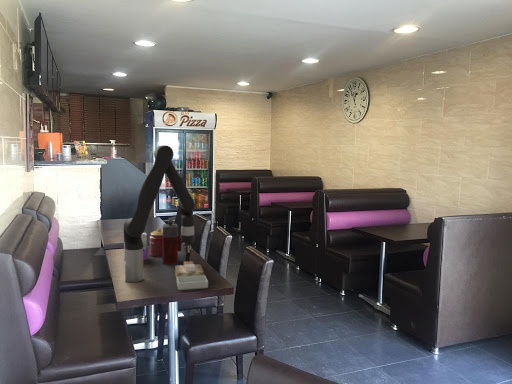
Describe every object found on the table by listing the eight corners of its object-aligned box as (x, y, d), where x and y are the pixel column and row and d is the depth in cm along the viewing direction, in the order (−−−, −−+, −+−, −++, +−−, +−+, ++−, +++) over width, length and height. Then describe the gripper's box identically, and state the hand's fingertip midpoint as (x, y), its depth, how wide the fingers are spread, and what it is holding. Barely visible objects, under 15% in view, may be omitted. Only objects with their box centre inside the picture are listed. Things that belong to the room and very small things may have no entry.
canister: (149, 257, 261) (149, 230, 259) (149, 252, 273) (149, 226, 271) (169, 256, 264) (169, 229, 262) (168, 251, 277) (168, 226, 275)
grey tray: (178, 290, 203) (178, 283, 202) (176, 283, 213) (176, 276, 213) (207, 288, 207) (208, 281, 206) (204, 281, 217) (204, 274, 217)
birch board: (177, 282, 214) (177, 273, 214) (175, 274, 228) (175, 265, 227) (203, 280, 218) (203, 271, 217) (200, 272, 231) (200, 264, 231)
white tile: (185, 271, 217) (185, 267, 216) (184, 268, 222) (184, 264, 221) (194, 271, 218) (194, 266, 218) (193, 268, 223) (193, 263, 223)
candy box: (124, 261, 250) (124, 235, 248) (123, 259, 255) (123, 233, 253) (147, 259, 255) (147, 234, 253) (146, 257, 260) (146, 232, 259)
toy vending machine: (181, 263, 248) (181, 218, 245) (163, 264, 246) (163, 219, 243) (180, 259, 257) (181, 216, 254) (162, 260, 254) (162, 216, 251)
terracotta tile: (184, 268, 222) (184, 264, 222) (183, 265, 227) (183, 261, 226) (193, 268, 223) (193, 263, 223) (192, 265, 228) (192, 261, 228)
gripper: (179, 231, 234) (179, 260, 236) (182, 236, 221) (181, 267, 223) (192, 231, 236) (192, 259, 238) (195, 235, 223) (195, 266, 225)
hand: (187, 263), depth 230 cm, fingers closed
